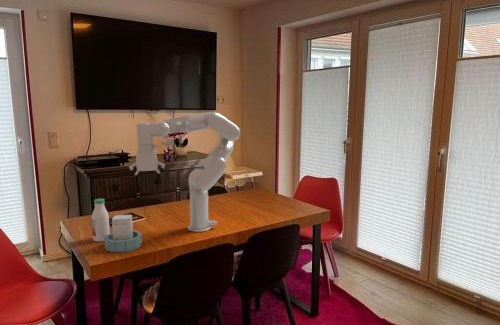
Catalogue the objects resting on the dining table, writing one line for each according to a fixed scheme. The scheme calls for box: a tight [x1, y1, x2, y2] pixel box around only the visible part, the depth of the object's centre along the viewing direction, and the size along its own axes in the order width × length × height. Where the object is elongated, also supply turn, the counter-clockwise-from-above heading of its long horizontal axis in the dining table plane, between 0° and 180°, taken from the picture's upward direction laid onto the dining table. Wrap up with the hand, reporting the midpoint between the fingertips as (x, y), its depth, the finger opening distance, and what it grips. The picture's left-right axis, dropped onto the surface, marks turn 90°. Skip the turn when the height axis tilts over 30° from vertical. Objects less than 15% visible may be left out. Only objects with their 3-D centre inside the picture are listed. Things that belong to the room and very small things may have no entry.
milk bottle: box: [91, 198, 111, 243], centre depth 182 cm, size 8×8×20 cm
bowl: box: [103, 229, 143, 253], centre depth 175 cm, size 16×16×5 cm
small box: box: [111, 214, 134, 241], centre depth 174 cm, size 8×6×13 cm
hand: (148, 181), depth 187 cm, fingers open, 9 cm apart
